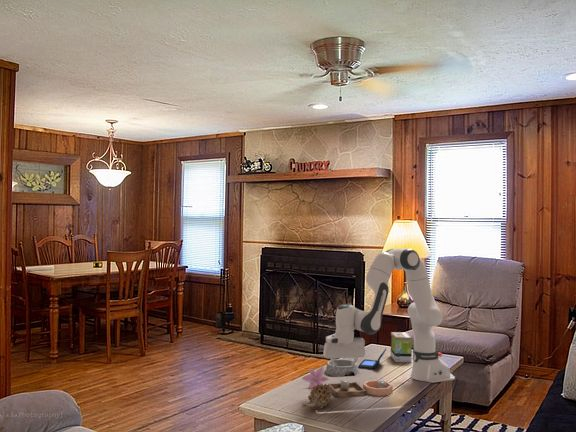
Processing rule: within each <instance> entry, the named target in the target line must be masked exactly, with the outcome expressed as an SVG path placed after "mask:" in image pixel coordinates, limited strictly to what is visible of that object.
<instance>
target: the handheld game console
mask: <svg viewBox="0 0 576 432" xmlns="http://www.w3.org/2000/svg"><path fill="white" fill-rule="evenodd" d="M386 351H387V348H384V350H383V352H382V353H381V354H380V356H378V359H377V360H376V359H366V358H365V359H363V360H362V361H361V362H360V363H359V364H358V365H357V367H358V369H365V370H366V369H367V370H375V369H376V368H377V366H378V365H379V364H380V360H381V359H382V358H383V355H384V354H385V353H386Z"/></svg>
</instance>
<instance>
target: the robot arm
mask: <svg viewBox="0 0 576 432" xmlns="http://www.w3.org/2000/svg"><path fill="white" fill-rule="evenodd" d="M394 270H398V271H401V270H402V271H404V272H405V279H406V282H407V288H408V292H409V296H410V297H411V298H412V300H413V302H411V303H410V304H409V305H408V307H407V314H408V316H409V319H410V323H411V328H412V332H413V349H412V369H411V373H410V378H412V379H413V380H417V381H421V382H428V383H439V382H440V383H441V382H447V381H454V380H455V379H456V378H455V375H453V374H452V373H451V370H450V369H451V368H450V367H449V365H448V364H447V363H446V362H444V361H443V360H442V359H441V357H442V356H443V353H442V352H439V351H437V350H436V335H435V333H434V330H433V327H438V326H440V325H441V323H442V321H443V318H444V317H443V316H444V315H443V313H442V311H441V310H440V308H439V306H438V305H437V301H436V300H435V298H434V295H433V292H432V289H431V284H430V279H429V276H428V274H429V273H428V271H427V268H426V264H425V262H424V261H423V259H422V258H420V255H419V253H418V252H417V251H416V250H414V249H412V248H403V247H399V248H391V249H388V250H386V251H385V252H379V253H378V254H377V255H376V256H375V258H374V259H373V261H372V263H371V265H370V267H369V269H368V271H367V274H366V277H365V282H366V283H367V286H368V287H369V288H370V289H371V290H372V291H373V293H374V297H373V301H372V304H371V308H370V309H369V311H365V310H361V309H359V308H357V307H356V306H355V307H354V306H353V305H352V304H350V303H343V304H340V305H338V306H337V309H336V312H335V326H336V328H335V333H333V334H331V335H330V334H329V335H327V336H325V343H324V344H323V345H324V346H323V355H322V356H323V357H324V358H325V359H330V361H332V363H333V367H337V366H336V365H337V364H336V363H334V361H333V360H336V359H345V358H347V359H348V358H349V359H353V360H352V361H353V362H351V366H352V367H355V363H358V360H359V358H364V357H365V356H366V350H365V346H366V341H365V339H364V338H362V337H355V336H354V335H355V334H354V333H355V332H354V331H355V330H357V331H360V332H363V333H365V334H367V335H374V334H376V333H378V331H379V330H380V328H381V327H382V319H383V314H384V310H385V306H386V303H387V299H388V296H389V291H390V289H389V285H388V284H389V281H390V278H391V275H392V273H393V271H394ZM439 357H440V358H439Z"/></svg>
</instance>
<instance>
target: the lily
mask: <svg viewBox="0 0 576 432" xmlns="http://www.w3.org/2000/svg"><path fill="white" fill-rule="evenodd" d="M324 371H325V369H324V366H320V367H319V368H318V369H316V371H315V369H313V368H312V367H309V374H306V375H305V376H302V377H301V379H302V380H303V381H305V382H307V383H309V387H308V388H309V389H313V388H312V387H314V386H317V384H319V385H320V384H321V385H324V382H327V381H329V380H330V379H329V378H328V377H326V376H323V375H324Z"/></svg>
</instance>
